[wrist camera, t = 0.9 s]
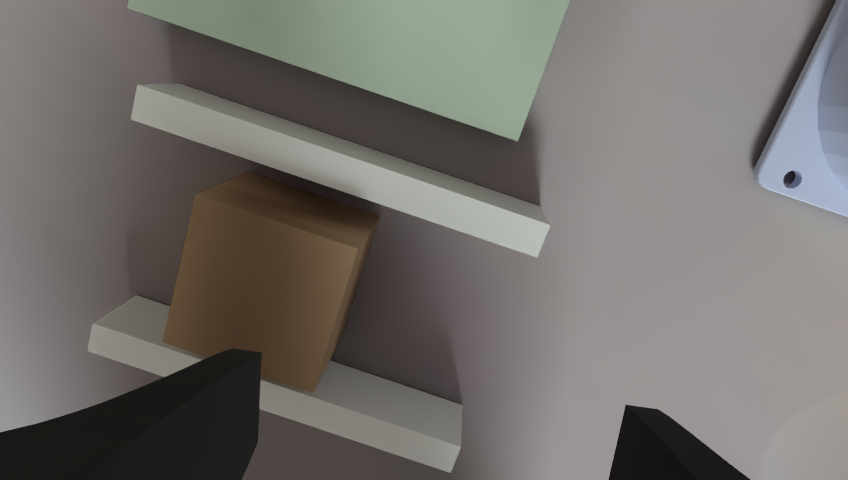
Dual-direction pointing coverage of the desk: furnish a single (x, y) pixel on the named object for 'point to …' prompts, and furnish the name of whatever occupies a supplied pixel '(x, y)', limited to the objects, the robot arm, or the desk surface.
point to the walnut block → (269, 276)
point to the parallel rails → (354, 174)
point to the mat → (397, 47)
